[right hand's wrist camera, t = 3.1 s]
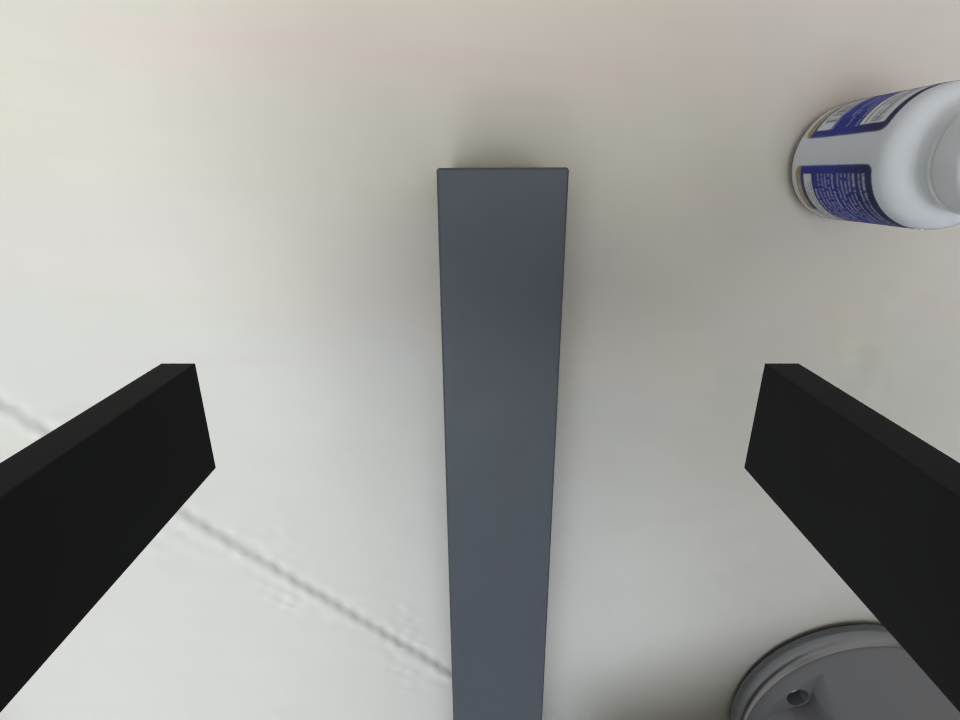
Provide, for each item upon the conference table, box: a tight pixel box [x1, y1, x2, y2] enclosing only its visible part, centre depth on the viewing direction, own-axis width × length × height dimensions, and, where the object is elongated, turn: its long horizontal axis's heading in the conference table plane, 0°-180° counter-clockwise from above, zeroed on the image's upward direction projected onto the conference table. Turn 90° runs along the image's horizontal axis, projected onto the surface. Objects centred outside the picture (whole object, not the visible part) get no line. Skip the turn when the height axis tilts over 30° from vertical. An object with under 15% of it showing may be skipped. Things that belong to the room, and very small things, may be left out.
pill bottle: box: [792, 80, 960, 229], centre depth 21 cm, size 5×5×9 cm
